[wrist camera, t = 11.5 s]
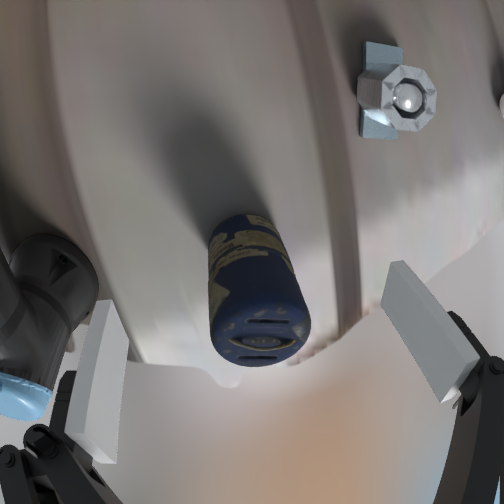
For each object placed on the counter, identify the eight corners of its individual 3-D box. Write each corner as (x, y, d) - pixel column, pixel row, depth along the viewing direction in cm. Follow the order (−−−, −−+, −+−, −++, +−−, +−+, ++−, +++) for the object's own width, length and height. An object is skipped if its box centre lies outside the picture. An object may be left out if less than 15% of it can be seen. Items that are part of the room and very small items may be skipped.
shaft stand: (359, 135, 36) (386, 151, 30) (362, 41, 29) (392, 39, 23) (393, 137, 36) (423, 153, 30) (398, 48, 30) (431, 49, 24)
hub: (356, 117, 34) (379, 128, 28) (357, 60, 30) (382, 61, 25) (405, 121, 34) (432, 133, 29) (408, 68, 30) (437, 72, 25)
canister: (224, 199, 39) (234, 297, 24) (292, 224, 41) (337, 322, 26) (198, 261, 43) (195, 370, 28) (261, 280, 46) (285, 385, 31)
